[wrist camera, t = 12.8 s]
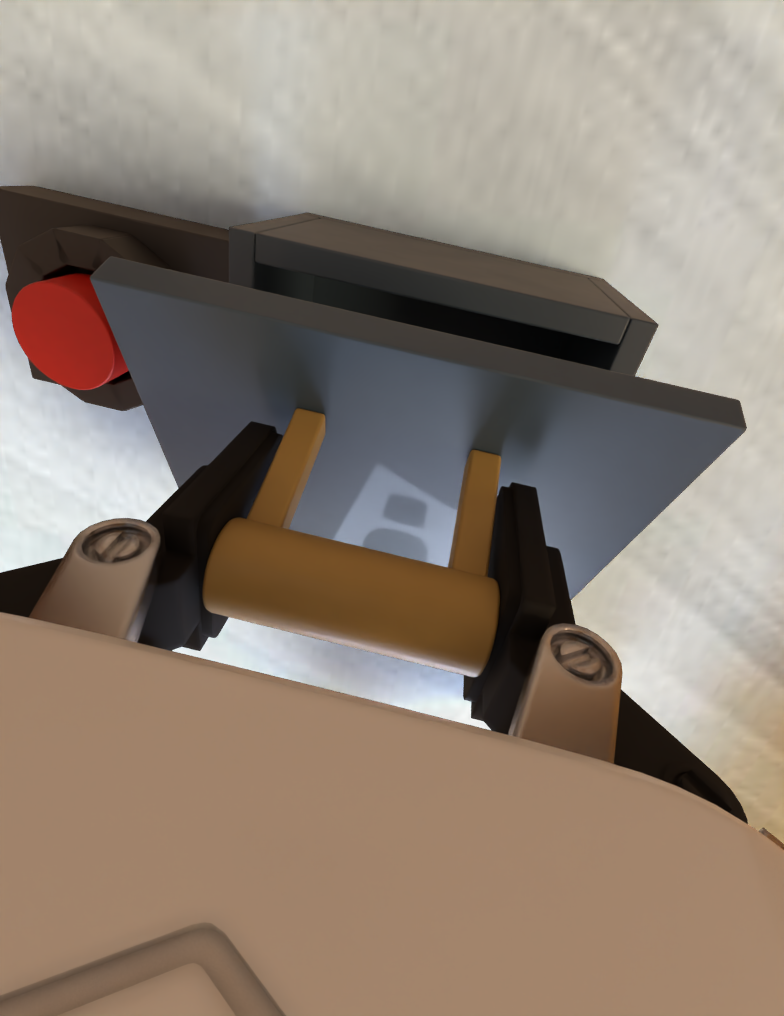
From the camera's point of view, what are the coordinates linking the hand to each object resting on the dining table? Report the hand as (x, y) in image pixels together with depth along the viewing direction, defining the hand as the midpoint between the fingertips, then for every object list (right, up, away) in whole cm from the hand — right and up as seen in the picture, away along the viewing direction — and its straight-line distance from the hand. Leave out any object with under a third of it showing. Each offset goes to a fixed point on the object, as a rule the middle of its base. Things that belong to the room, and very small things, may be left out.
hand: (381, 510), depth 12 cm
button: (-12, +8, +9) cm, 17 cm away
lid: (0, 0, +4) cm, 4 cm away
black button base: (-11, +10, +12) cm, 19 cm away
